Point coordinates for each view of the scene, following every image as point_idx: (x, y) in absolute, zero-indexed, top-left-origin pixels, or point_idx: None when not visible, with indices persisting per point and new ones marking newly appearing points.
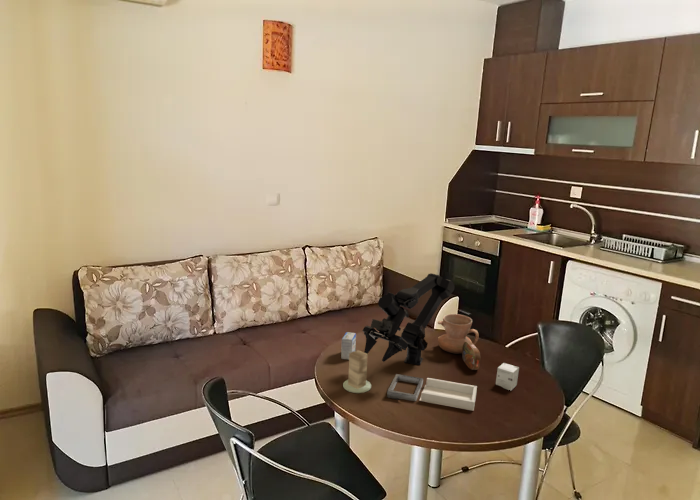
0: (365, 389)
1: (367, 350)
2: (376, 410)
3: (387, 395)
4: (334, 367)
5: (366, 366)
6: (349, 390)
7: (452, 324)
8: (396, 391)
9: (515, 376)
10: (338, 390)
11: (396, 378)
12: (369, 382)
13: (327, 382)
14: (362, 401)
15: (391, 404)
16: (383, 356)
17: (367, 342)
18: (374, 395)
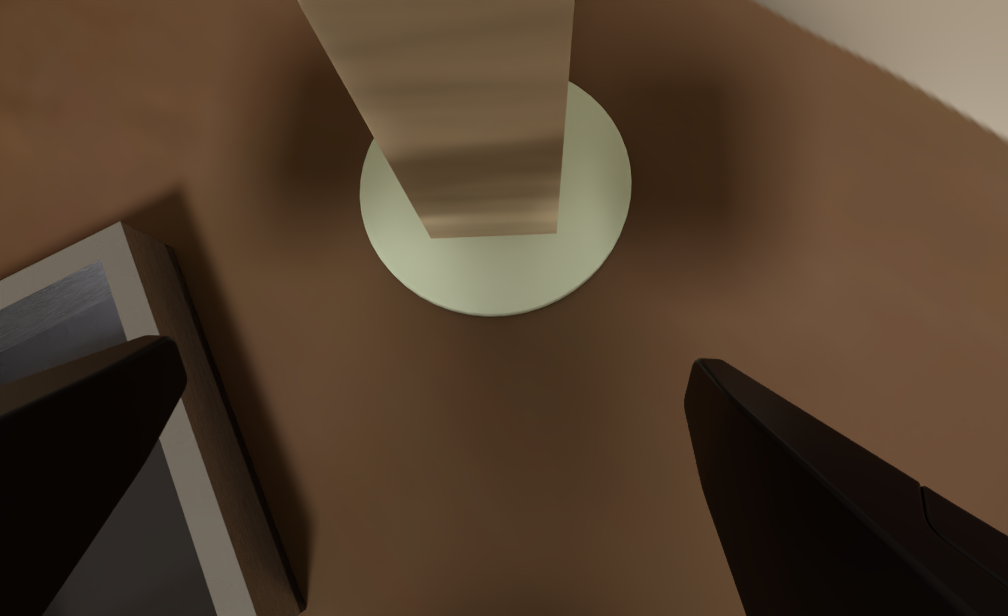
0: (377, 178)
1: (722, 447)
2: (132, 53)
3: (153, 240)
4: (983, 290)
5: (363, 110)
6: None
7: None
8: (44, 282)
9: None
10: None
11: (193, 526)
12: (445, 305)
13: (724, 42)
14: (289, 60)
15: (87, 196)
16: (96, 367)
17: (943, 548)
18: (276, 193)
